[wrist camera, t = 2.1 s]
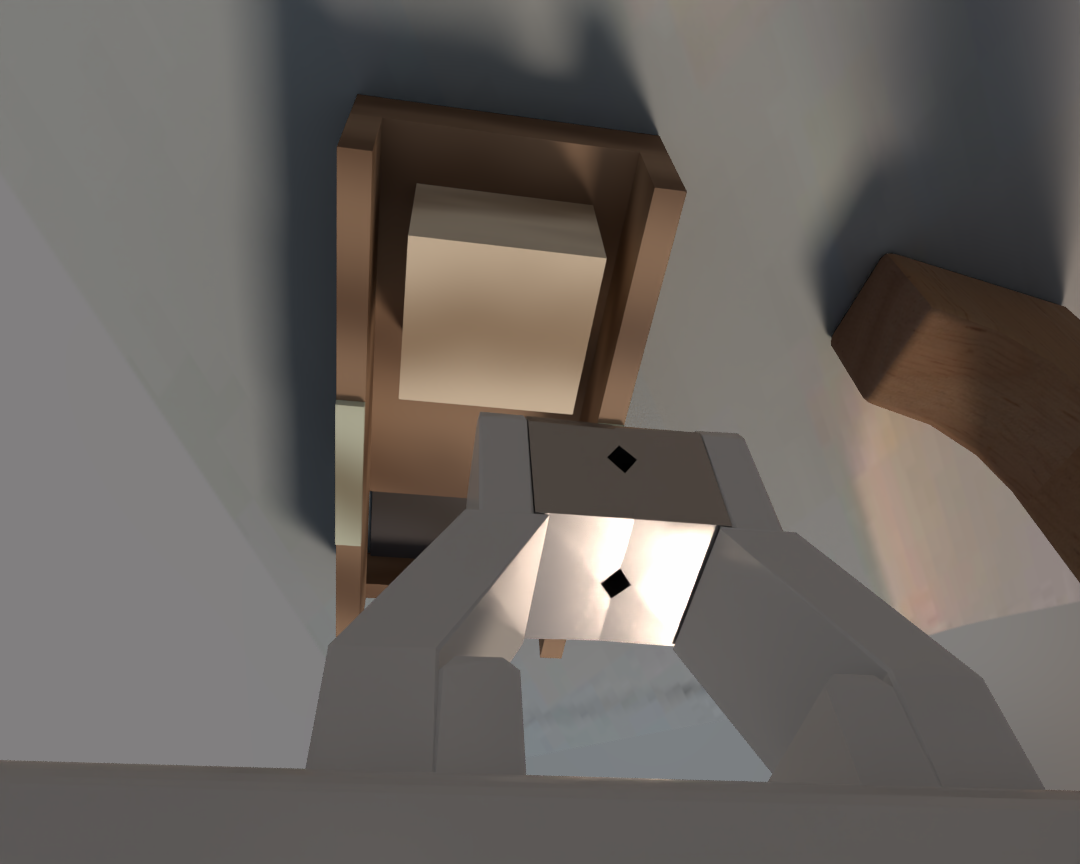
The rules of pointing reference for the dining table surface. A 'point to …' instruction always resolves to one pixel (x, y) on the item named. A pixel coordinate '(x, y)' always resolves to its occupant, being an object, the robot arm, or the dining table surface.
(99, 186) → the dining table surface
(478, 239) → the birch block
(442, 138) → the walled channel
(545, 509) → the robot arm
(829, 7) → the dining table surface
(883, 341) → the wooden block
